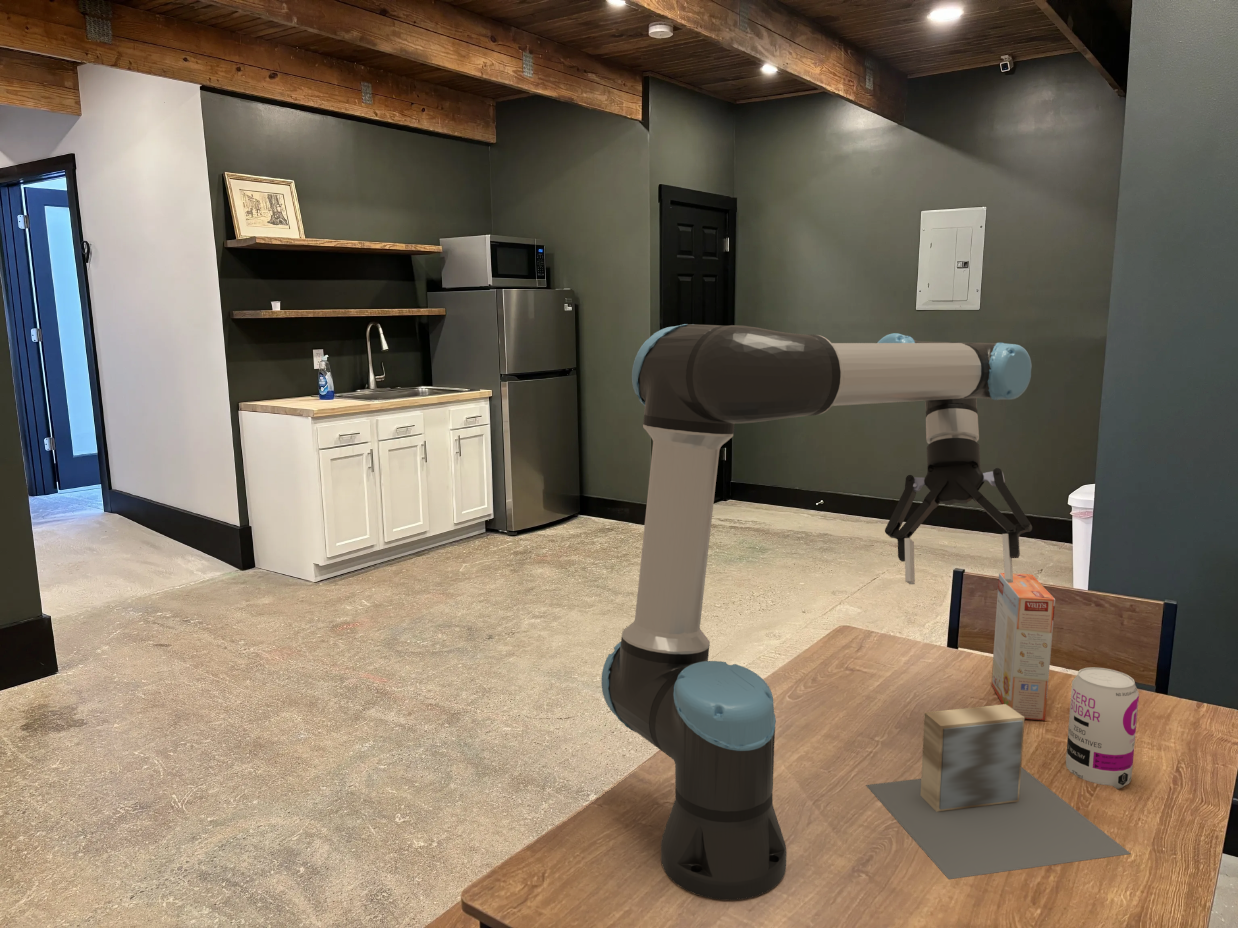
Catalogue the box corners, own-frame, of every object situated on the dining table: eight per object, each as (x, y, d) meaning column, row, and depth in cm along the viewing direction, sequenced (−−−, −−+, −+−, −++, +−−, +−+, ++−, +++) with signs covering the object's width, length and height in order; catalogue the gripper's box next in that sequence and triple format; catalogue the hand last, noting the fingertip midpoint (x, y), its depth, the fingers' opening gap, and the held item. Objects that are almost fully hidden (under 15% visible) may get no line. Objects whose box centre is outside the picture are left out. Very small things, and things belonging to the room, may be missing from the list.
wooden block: (937, 812, 115) (941, 726, 113) (920, 795, 119) (924, 712, 117) (1019, 802, 117) (1025, 717, 115) (1000, 785, 121) (1005, 704, 119)
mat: (948, 886, 101) (948, 878, 101) (865, 791, 122) (865, 784, 122) (1130, 860, 106) (1131, 853, 106) (1021, 773, 126) (1021, 766, 126)
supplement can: (1137, 775, 125) (1146, 675, 123) (1121, 798, 119) (1130, 694, 117) (1075, 756, 131) (1083, 661, 128) (1057, 777, 125) (1065, 678, 122)
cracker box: (1048, 722, 142) (1057, 598, 138) (1008, 719, 143) (1016, 596, 139) (1026, 686, 155) (1034, 572, 152) (990, 684, 156) (997, 571, 153)
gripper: (1045, 443, 130) (1056, 584, 124) (876, 458, 143) (878, 587, 137) (1040, 426, 124) (1050, 574, 118) (863, 444, 137) (865, 578, 131)
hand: (958, 582), depth 127 cm, fingers open, 13 cm apart
